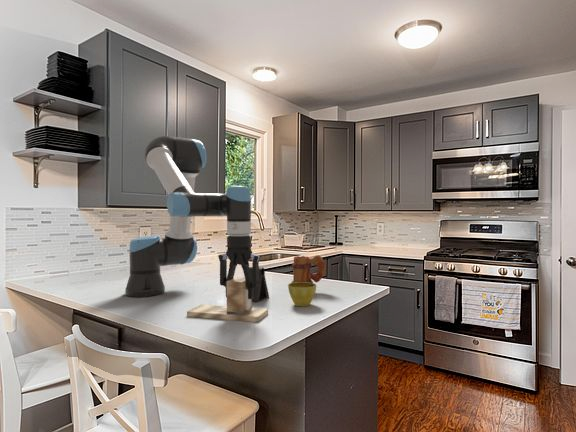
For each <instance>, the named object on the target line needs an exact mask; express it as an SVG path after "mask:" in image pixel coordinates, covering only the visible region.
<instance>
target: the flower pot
mask: <svg viewBox="0 0 576 432" xmlns="http://www.w3.org/2000/svg"><path fill="white" fill-rule="evenodd" d="M287 287H288V293H289V296H290V298H291V300H292V302H293V304H294V306H297V307H308V306H310V304H311V303H312V302H313V299H314V297H315V294H316V291H317V284H316V283H314V282H313V283H308V282H294V283H291V282H290V283H288V284H287Z"/></svg>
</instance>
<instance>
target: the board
mask: <svg viewBox="0 0 576 432" xmlns="http://www.w3.org/2000/svg"><path fill="white" fill-rule="evenodd" d="M268 314H269V309H268V308H256V307H255V308H254V307H252V308H251V309H250V310H248V311H247V312H245V313H244V314H243V315H235V314H227V305H216V304H215V305H213V304H200V305H197V306H196V307H193V308H192V309H189V310H187V311H186V317H193V318H203V319H204V318H205V319H217V320H225V321H227V320H228V321H241V322H253V323H254V322H255V323H259V322H260V321H261V320H262V319H264V318H265V317H266V316H267V315H268Z"/></svg>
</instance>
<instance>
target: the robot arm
mask: <svg viewBox="0 0 576 432" xmlns="http://www.w3.org/2000/svg"><path fill="white" fill-rule="evenodd" d="M144 159H145V162H146V164H147V165H148V167H150V169H152V170H153V171H154V172H155V175H157V178H158V179H159V181H160V183H161V184H162V186H163V188H164V190H165V191H166V193H167V195H168V196H167V199H166V208H167V213H168V214H169V216H170V217H169V219H170V220H169V228H168V230H167V231H166V232H164V238H163V237H161V236H160V235H156V234H154V235H147V236H141V237H140V236H139V237H136V238H133V239H131V240H130V242H129V250H128V253H129V278H128V280H127V284H126V287H125V292H124V294H125V296H126V295H127V297H130V296H131V297H132V298H143V297H152V296H157V295H160V294H161V295H163V294H164V293H165V292H166V286H165V283H164V281H163V276H162V275H161V267H164V266H173V265H175V266H176V265H182V266H183V265H184V264H190V263H191V262H193V261H194V259H195V258H196V256H197V253H198V241H197V239H196V238H195V237H194V234H193V233H192V232H191V224H192V223H191V222H192V218H194V217H222V218H223V217H226V234H227V237H226V247H227V249H226V252H225V253H221V254H218V260H219V285H220V286H222V287H224V288H225V298H226V299H227V281H229V280H231V279H233V278H235V277H234V276H235V273H236V268H237V267H238V265H240V266H241V268H242V272H243V275H244V276H243V277H245V280H246V284H247V289H245V310H249V309H250V308H251V299H252V298H253V288H254V287H257V286H258V285H259V262H260V259H261V255H260V254H255V253H253V251H252V237H251V235H250V234H252V221H251V218H252V217H251V216H252V197H251V188H250V187H249V186H244V185H231V186H228V187H227V189H226V193H203V192H195V185H196V177H197V176H198V175H200V172H201V170H202V169H204V168H205V167H206V165H207V159H208V157H207V152H206V147H205V145H204V144H203V142H202V141H200V140H198V139H193V138H187V137H186V138H185V137H179V136H178V137H177V136H170V135H160V136H157V137H155V138H152V140H150V141H149V142H148V143H147V145H146V146H145V149H144ZM227 259H228V260H229V265H227V264H228V262H227V261H228V260H227ZM250 259H251V261H252V264H251V265H252V266H251V267H252V275H253V281H252V276H251V272H250V268H249V267H250V263H249V260H250ZM227 269H228V271H227Z"/></svg>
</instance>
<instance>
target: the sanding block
mask: <svg viewBox="0 0 576 432" xmlns="http://www.w3.org/2000/svg"><path fill="white" fill-rule="evenodd" d="M245 289H247V284H246V280H245V276H236V277H233V279H231V280H229V281H227V298H226V306H227V314H235V315H243V314H244V313H245V312H247V311H248V310H245ZM252 303H253V302H252V299H251V308H253V306H252ZM251 308H250V309H251ZM250 309H249V310H250Z"/></svg>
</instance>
